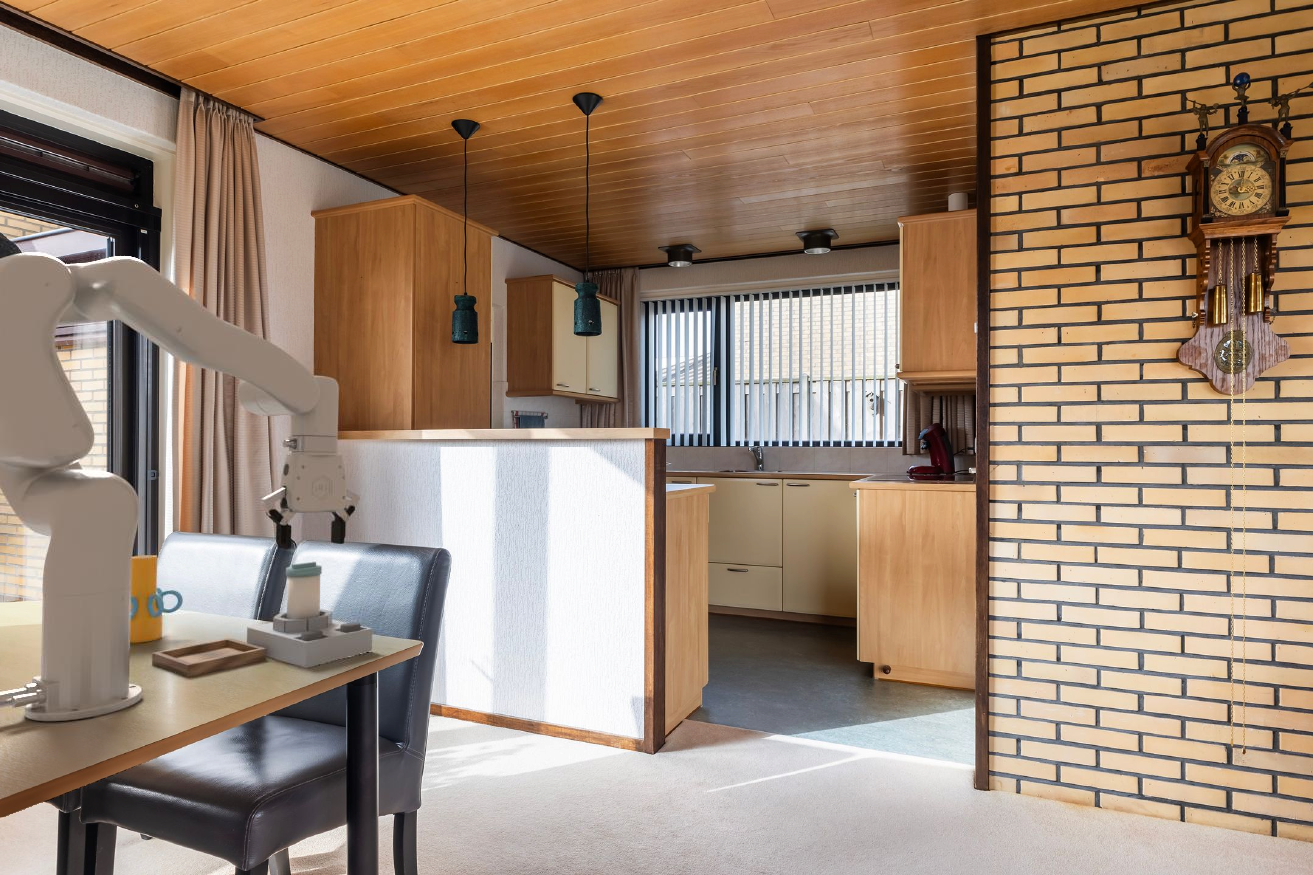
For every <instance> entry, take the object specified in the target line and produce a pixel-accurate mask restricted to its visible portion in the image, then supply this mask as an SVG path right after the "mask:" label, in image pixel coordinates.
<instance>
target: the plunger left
mask: <svg viewBox="0 0 1313 875" xmlns="http://www.w3.org/2000/svg"><path fill="white" fill-rule="evenodd" d="M322 638H323V632H322V631H306V632H303V633H301V640H303V641H307V642H308V641H313V640H317V639H322Z"/></svg>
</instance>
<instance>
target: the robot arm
mask: <svg viewBox="0 0 1313 875" xmlns="http://www.w3.org/2000/svg"><path fill="white" fill-rule="evenodd" d="M116 320H119V321H121V323H122V322H123V323H124V324H125V325H127V326H128V327H130V328H131V329H133V330H134V331H136V332H137V333H139V334H140V335H141V336H143V337H145V338H146V339H147V340H149V341H150V342H152V343H153V344H155V345H156V346H158V347H160V349H162V350H164V351H165V352H166V353H168V354H170V355H171V356H172V357H174V358H175V359H177V360H178V361H181V362H182V363H185V364H187V365H191V366H193V367H197V368H200V369H204V370H210V371H215V372H218V373H223V374H226V375H229V376H232V377H235V378H237V379H239V380H241V381H240V383H239V384H238V387H237V392H236V393H237V399H238V402H239V403H240V405H241V406H242V407H243V408H244V410H247V411H248V412H249V413H252V415H253V414H254V415H257V416H260V417H261V416H262V417H278V416H290V436H289V438H288V439H284V440H283V442H282V446H283V448H285V449H286V448H287V449H288V451H289V454H286V455H285V458H284V459H285V460H284V463H283V467H282V471H281V472H282V473H281V478H280V487H279V489H278V490H275V491H273V492H272V493H270V494H268V495H266V496H265V497H263V498H261V499H260V504H261V506H262V508H263V510H264V511H265V515H266V516H267V517H268V518H269V519H270V520H271V521H272V522H273V524H274V525H275V543H276V544H277V548H278V549H285V550H289V549H291V548H292V524H289V522H290V521H291V520H292V519H293V517H294V516H295V515H296V514H312V513H313V514H315V513H316V514H317V513H330V514H331V516H332V517H333V518H334V520H333V519H332V520H331V527H330V528H331V529H330V542H331V543H332V544H337V545H343V544H345V538H346V532H347V531H346V530H347V528H346V526H347V523H346V522H347V521H349V519H350V517H351V515H353V513H354V512H355V510H356V507H357V505H358V503H359V500H360V498H361V497H360V495H358V494H357V493H355V492H352V491H351V490H349V489H348V488H347V480H346V477H347V476H346V470H345V463H344V459H343V455H338V442H339V441H338V440H339V438H338V431H339V428H338V426H339V397H340V396H339V393H340V392H339V391H340V386H339V383H338V381H337V380H336V379H335V378H333V377H330V376H323V375H314V374H313V373H312V372H311V371H310V370H309V369H308V368H307V367H305V366H304V365H303V364H302V363H301V362H300V361H298V360H297V359H296V358H294V356H292V355H291V354H290V353H288V352H287V351H285V350H283V349H282V348H281V347H279V346H278V345H275V344H274V343H272V342H270V341H268V340H266V339H265V338H263V337H260V336H258V335H256V334H254V333H252V332H249V331H247V330H246V329H243V328H241V327H239V326H237V325H235V324H233V323H230V322H228V321H226V320H223V319H222V318H220V317H219V316H217V315H216V314H215V313H213V312H211V310H209V309H207V307H205V306H204V305H202V304H201V303H200V302H198V301H197V300H195V299H194V298H193V297H192V296H190V295H189V294H188V293H186V292H185V291H184V290H183V289H181V288H180V287H179V286H177V284H175V283H174V282H172V281H171V280H170V279H168V278H167V277H166V276H165V275H163V274H162V273H160V272H159V271H157V270H156V269H155V268H154V267H152V266H151V265H149V264H148V263H146V262H144V261H143V260H141V259H138V258H136V257H132V256H125V255H124V256H121V255H120V256H111V257H107V258H102V259H100V260H96V261H95V260H94V261H91V262H85V263H84V262H83V263H70V264H67V263H66V264H65V263H64V261H62V260H61V259H59V258H56V257H55V256H52V255H49V254H47V253H43V252H42V253H41V252H35V251H34V252H22V253H21V252H20V253H14V254H11V255H8V256H4V257H1V258H0V490H1V492H2V493H3V496H4V497H5V499H6V501H7V503H8V504H9V506H10V508H11V509H12V510H13V512H14V514H15V515H16V516H17V518H18V519H19V520H20V521H21V523H22V524H23V525H24V526H25V527H26V528H28V529H29V530H31V531H32V532H34V533H36V534H39V535H42V536H46V537H49V538H50V539H49V544H48V547H47V552H46V554H45V559H44V565H43V573H42V574H43V575H42V592H41V593H42V611H41V612H42V616H41V618H42V619H41V651H40V652H41V656H40V658H41V660H40V661H41V662H40V675H38V676H33V677H32V682H31V683H28V684H25V685H23V688H16V689H7V690H4V691H0V708H1V709H2V708H6V707H10V706H11V707H12V709H15V708H20V707H24V713H23V714H24V716H25V718H27V719H29V720H33V721H39V722H62V721H63V722H64V721H72V720H73V721H74V720H80V719H88V718H92V717H97V716H103V715H106V714H109V713H110V714H111V713H113V712H117V711H120V710H123V709H125V708H129V707H130V706H133V705H135V704H136V703H138V702H139V701H141V699H142V698H143V694H144V693H143V688H142V687H141V686H140V685H137V684H134V683H130V660H131V657H130V652H131V643H130V613H131V566H132V557H133V551H134V544H135V539H136V534H137V530H138V526H139V520H140V514H141V513H140V512H141V511H140V509H141V508H140V507H141V506H140V500H139V497H138V494H137V492H136V490H135V489H134V487H133V486H132V485H131V484H130V483H129V481H127V480H126V479H124V478H123V477H121V476H119V475H117V474H115V473H112V472H108V471H105V470H97V469H96V470H95V469H83V468H82V466H81V464H80V462H79V461H81V460H83V459H84V458H85V457H87V456H88V454H89V453H90V452H91V450H92V449H93V446H94V443H95V432H94V431H95V430H94V427H93V424H92V422H91V420H90V418H89V416H88V415H87V412H86V410H85V409H84V407H83V405H82V403H81V401H80V400H79V397H78V396H77V393H76V392H75V389H74V388H73V386H72V384H71V381H70V380H69V378H68V376H67V374H66V373H65V369H64V368H63V365H62V363H61V361H60V358H59V355H58V353H57V348H56V341H55V340H56V338H55V337H56V330H57V328H58V325H61V326H62V325H77V324H88V323H89V324H90V323H91V324H92V323H101V322H102V323H103V322H111V321H116ZM277 501H279V509H280V510H278V509H276V507H275V503H277Z"/></svg>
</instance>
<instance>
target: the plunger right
mask: <svg viewBox="0 0 1313 875" xmlns="http://www.w3.org/2000/svg"><path fill="white" fill-rule="evenodd" d="M361 626H362V625H361V623H360V622H346V623H345V624H342V625H340V632H344V633H350V632H354V631H359V630H360V628H361Z"/></svg>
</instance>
